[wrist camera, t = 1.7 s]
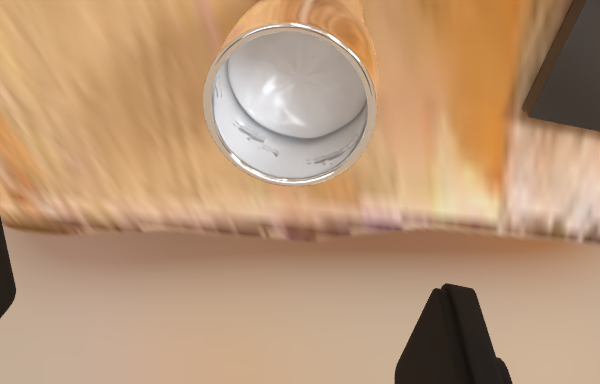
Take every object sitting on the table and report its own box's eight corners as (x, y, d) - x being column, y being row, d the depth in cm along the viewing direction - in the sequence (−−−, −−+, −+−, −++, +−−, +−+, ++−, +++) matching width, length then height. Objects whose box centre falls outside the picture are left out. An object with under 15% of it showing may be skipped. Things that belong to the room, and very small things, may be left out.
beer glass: (347, 85, 32) (344, 211, 19) (250, 52, 31) (183, 162, 19) (387, -19, 28) (415, 55, 16) (277, -58, 28) (216, -14, 15)
